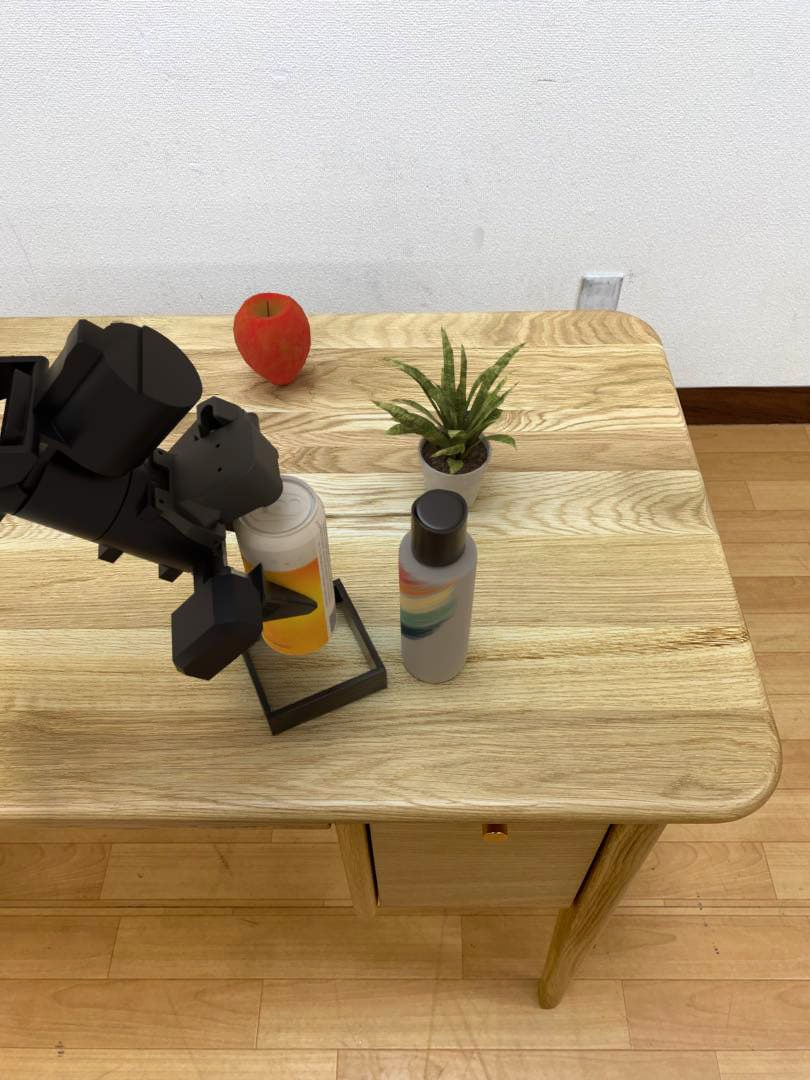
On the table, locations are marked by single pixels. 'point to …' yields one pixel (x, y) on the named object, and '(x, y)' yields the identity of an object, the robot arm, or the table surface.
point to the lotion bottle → (436, 586)
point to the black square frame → (333, 695)
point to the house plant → (453, 423)
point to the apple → (273, 336)
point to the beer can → (292, 563)
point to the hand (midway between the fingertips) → (308, 572)
